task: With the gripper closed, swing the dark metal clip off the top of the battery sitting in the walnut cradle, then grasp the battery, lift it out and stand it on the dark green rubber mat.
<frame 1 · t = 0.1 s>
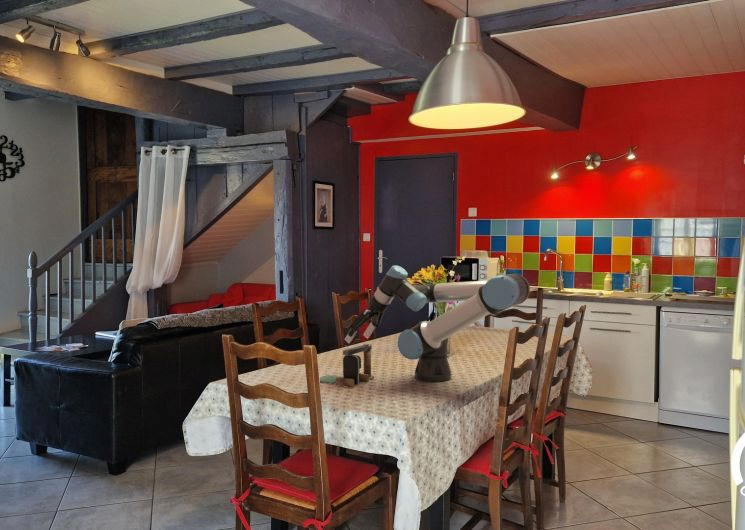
hand: (356, 339, 265), 15 cm above the table, tool tilted 35°, fingers open, 13 cm apart
clip: (357, 349, 255), point 13 cm above the table, hinge at 0.0°
mat: (330, 380, 258), on the table
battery: (352, 384, 252), on the table
cradle: (352, 383, 252), on the table
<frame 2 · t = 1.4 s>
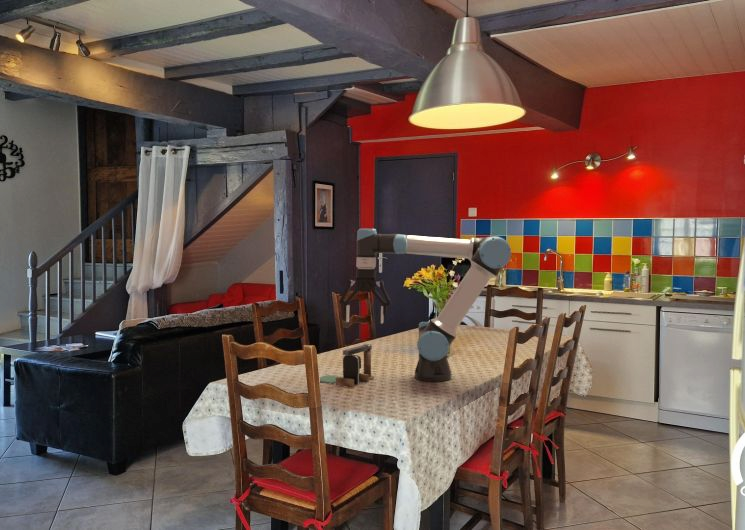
hand: (364, 322, 249), 24 cm above the table, tool pointing down, fingers open, 13 cm apart
nothing on the table moved.
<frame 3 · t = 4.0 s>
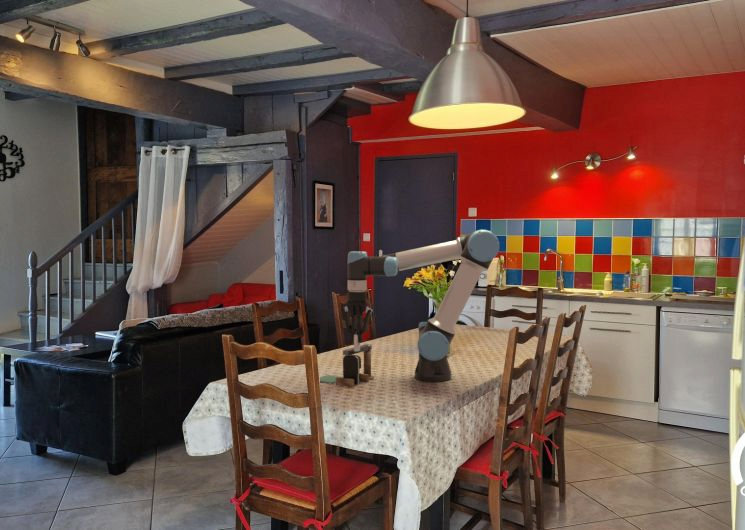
hand: (357, 350, 250), 13 cm above the table, tool pointing down, fingers closed
clip: (357, 349, 255), point 13 cm above the table, hinge at 0.0°, touching gripper
everything else where it was.
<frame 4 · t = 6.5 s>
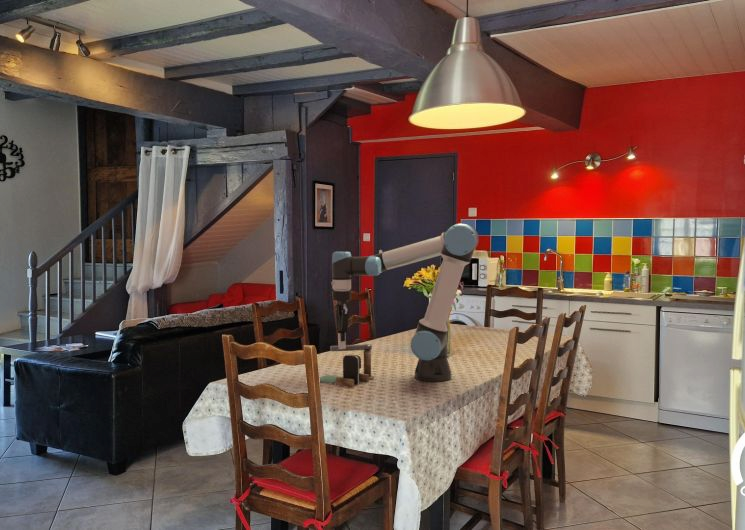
hand: (342, 348, 256), 13 cm above the table, tool pointing down, fingers closed
clip: (351, 347, 259), point 13 cm above the table, hinge at -44.5°, touching gripper
everything else where it was.
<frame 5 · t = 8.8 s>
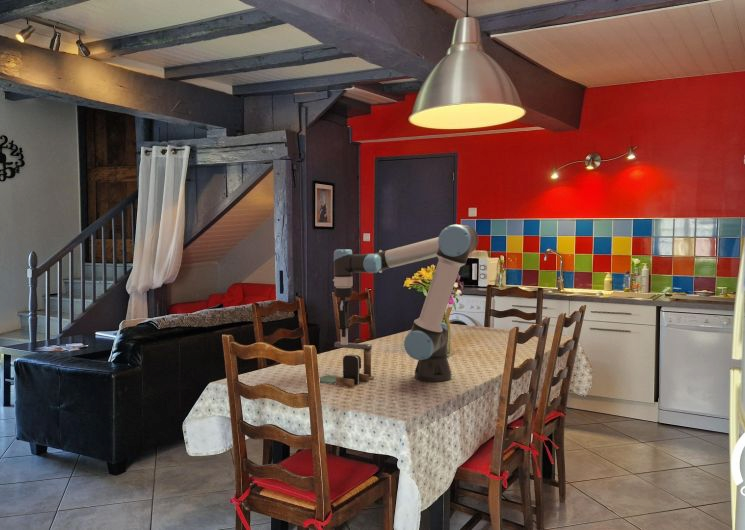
hand: (344, 344, 262), 14 cm above the table, tool pointing down, fingers closed
clip: (353, 345, 263), point 13 cm above the table, hinge at -85.0°
everything else where it was.
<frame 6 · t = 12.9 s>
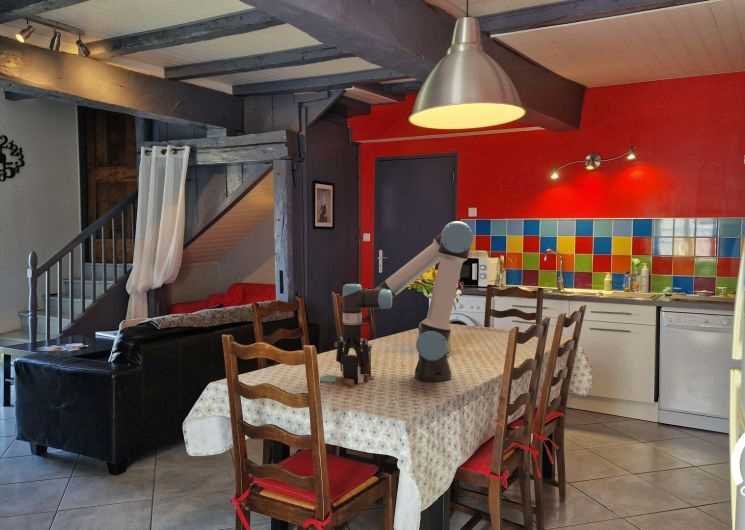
hand: (352, 380, 252), 1 cm above the table, tool pointing down, fingers closed on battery, 7 cm apart
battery: (352, 384, 252), on the table, touching gripper
everything else where it was.
when the fingers open (3 cm above the table, at t = 19.4 s): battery drops 2 cm, resting on mat.
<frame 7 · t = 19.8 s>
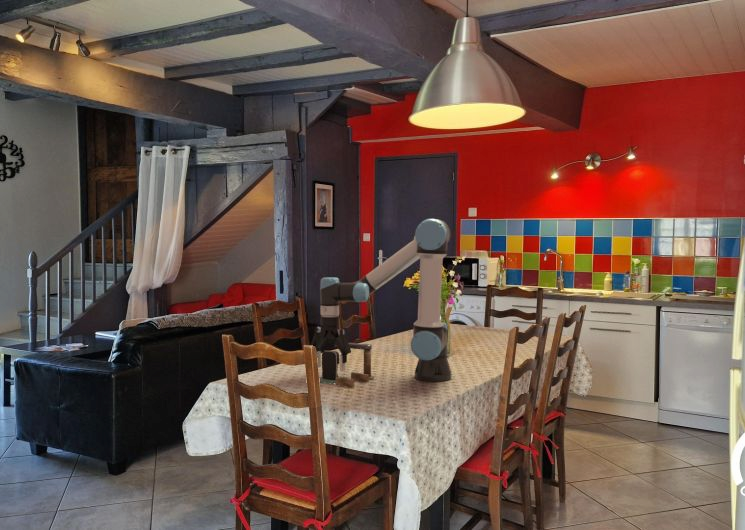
hand: (330, 369, 258), 5 cm above the table, tool pointing down, fingers open, 12 cm apart
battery: (331, 379, 258), resting on mat
everything else where it was.
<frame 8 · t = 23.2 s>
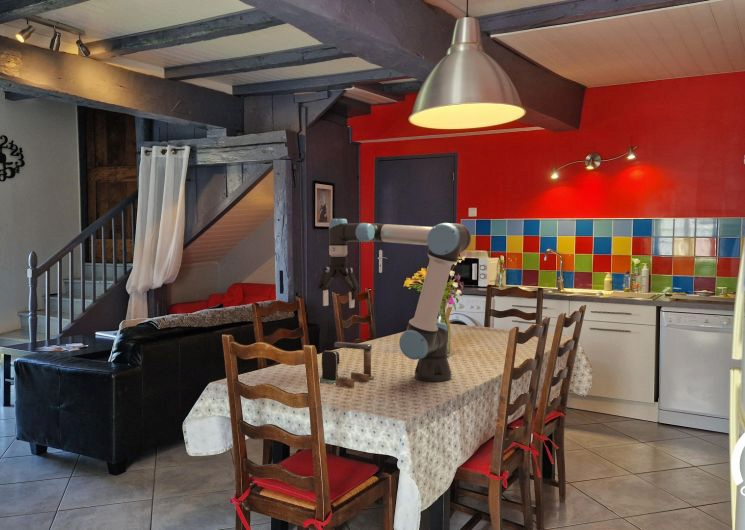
hand: (338, 306, 267), 29 cm above the table, tool pointing down, fingers open, 13 cm apart
nothing on the table moved.
at the end: clip at -85° (first picture: +0°); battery inside the target area on the mat (0.4 cm from its centre), point 0.4 cm above the mat's base; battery tilted 0° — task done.
